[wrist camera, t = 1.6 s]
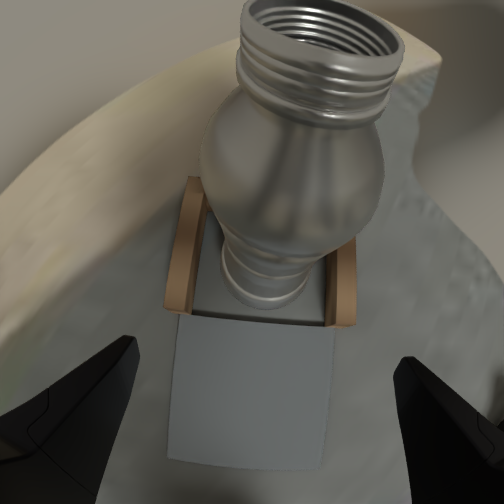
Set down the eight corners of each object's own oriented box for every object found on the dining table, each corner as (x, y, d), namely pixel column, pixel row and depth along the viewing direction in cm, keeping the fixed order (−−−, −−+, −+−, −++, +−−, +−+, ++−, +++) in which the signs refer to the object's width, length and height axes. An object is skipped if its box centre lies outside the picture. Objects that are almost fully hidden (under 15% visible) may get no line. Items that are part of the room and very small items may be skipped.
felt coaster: (318, 467, 18) (320, 469, 18) (168, 456, 18) (167, 457, 18) (333, 327, 22) (335, 327, 22) (181, 314, 22) (180, 313, 22)
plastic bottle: (289, 226, 25) (367, -12, 6) (312, 303, 23) (512, 130, 4) (214, 243, 24) (165, -13, 5) (233, 323, 22) (182, 145, 3)
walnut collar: (342, 328, 22) (356, 324, 19) (172, 313, 22) (163, 307, 19) (341, 210, 25) (352, 193, 23) (193, 194, 25) (188, 176, 23)
